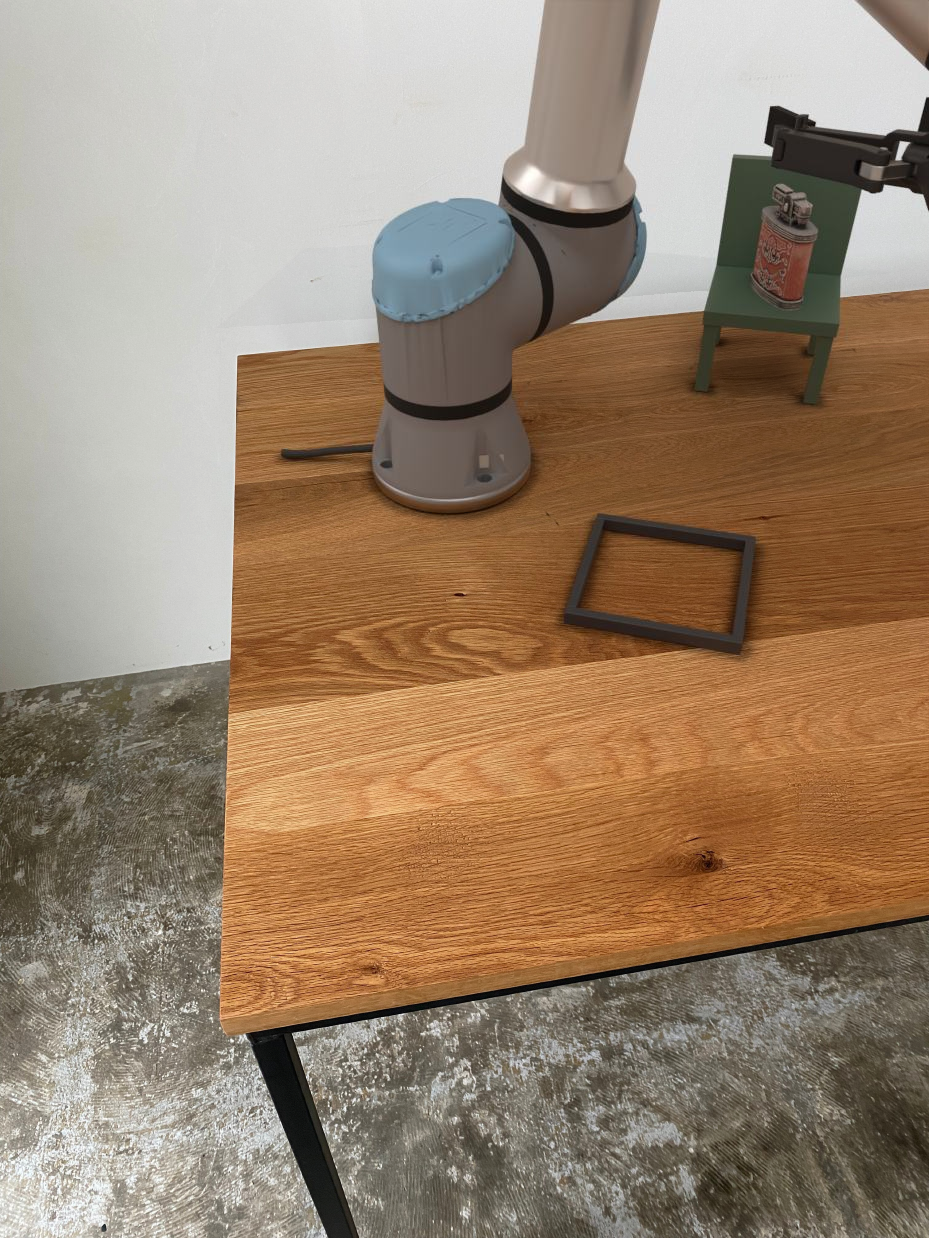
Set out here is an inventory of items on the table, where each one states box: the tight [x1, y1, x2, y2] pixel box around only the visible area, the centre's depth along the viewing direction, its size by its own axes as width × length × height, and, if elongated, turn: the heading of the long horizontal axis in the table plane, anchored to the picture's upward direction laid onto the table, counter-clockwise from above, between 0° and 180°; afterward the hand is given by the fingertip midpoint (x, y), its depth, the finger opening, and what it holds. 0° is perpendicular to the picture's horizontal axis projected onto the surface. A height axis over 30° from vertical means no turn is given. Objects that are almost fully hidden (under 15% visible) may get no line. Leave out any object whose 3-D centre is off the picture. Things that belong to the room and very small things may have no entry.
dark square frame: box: [563, 512, 757, 655], centre depth 77 cm, size 14×14×1 cm
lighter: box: [750, 184, 818, 310], centre depth 93 cm, size 8×3×10 cm, turn 13°
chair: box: [694, 153, 863, 406], centre depth 96 cm, size 13×13×20 cm
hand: (849, 119), depth 77 cm, fingers open, 13 cm apart
